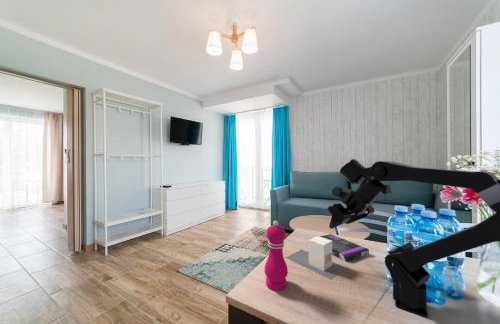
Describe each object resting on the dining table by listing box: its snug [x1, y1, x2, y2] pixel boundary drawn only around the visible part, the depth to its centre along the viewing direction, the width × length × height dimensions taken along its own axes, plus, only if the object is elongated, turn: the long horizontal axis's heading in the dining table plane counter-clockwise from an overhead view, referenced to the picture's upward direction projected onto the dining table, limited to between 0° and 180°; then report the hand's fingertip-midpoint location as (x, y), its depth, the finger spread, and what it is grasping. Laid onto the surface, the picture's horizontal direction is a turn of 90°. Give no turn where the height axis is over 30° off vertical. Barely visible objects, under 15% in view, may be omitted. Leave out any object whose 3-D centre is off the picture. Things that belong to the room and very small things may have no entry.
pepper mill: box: [264, 220, 289, 292], centre depth 61 cm, size 7×7×20 cm
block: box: [308, 235, 333, 271], centre depth 72 cm, size 6×6×9 cm
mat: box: [285, 249, 347, 280], centre depth 74 cm, size 19×11×1 cm, turn 40°
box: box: [310, 233, 370, 263], centre depth 86 cm, size 14×4×20 cm
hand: (338, 225), depth 70 cm, fingers open, 9 cm apart
